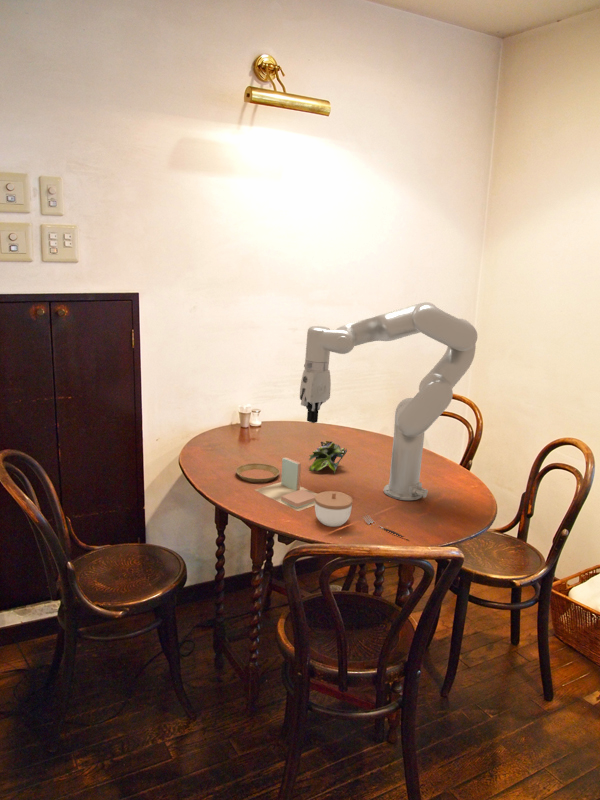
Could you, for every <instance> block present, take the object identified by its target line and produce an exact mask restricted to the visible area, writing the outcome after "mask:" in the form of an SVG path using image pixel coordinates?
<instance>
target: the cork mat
mask: <svg viewBox="0 0 600 800" xmlns="http://www.w3.org/2000/svg"><path fill="white" fill-rule="evenodd" d="M302 489H303V490H305V491H307V492H310V493H312V494H314V495H317V494H318V493H316V492H314V491H312V490H309V489H307V488H305V487H303V486H301V485H300V490H302ZM254 491H255V492H257V493H259V494H261V495H264V496H265V497H267V498H269V499H271V500H274V501H276V502H278V503H280V504H281V505H284V506H285V507H288V508H290V509H292V510H294V511H296V512H301V511H302V510H305V509H309V508H311V507H315V502H314V503H311V504H309V505H306V506H303V507H300V508H295V507H292V506H290V505H288V504H286V503H284V502H282V501H281V496H283V495H286V494H289V493H292V492H296V491H295V490H293V489H291V488H288V487H286V486H284V485H282V484H281V481H280V482H276V483H273V484H270V485H269V484H268V485H266V486H263V487H260V488H256V489H254ZM297 491H299V490H297Z"/></svg>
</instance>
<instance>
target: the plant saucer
mask: <svg viewBox="0 0 600 800" xmlns="http://www.w3.org/2000/svg"><path fill="white" fill-rule="evenodd" d="M251 470H260V471H261V470H263V471H266V472H267V471H268V472H270V473H272V474H274V475H273V476H272V477H264V478H255V477H254V478H253V477H248V476H247V477H246V476H243V475H241V474H242V473H243V472H247V471H251ZM280 472H281V471H280V469H279V468H278V467H276V466H275V465H271V464H267V463H261V462H259V463H256V462H255V463H246V464H241V465H239V466H237V467H236V469H235V473H236V474H237V476H239V478H240V479H242V480H243V481H246V482H250V483H266V482H270V481H274V480H275V479H276V478H277V477H278V475H280V474H281V473H280Z"/></svg>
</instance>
